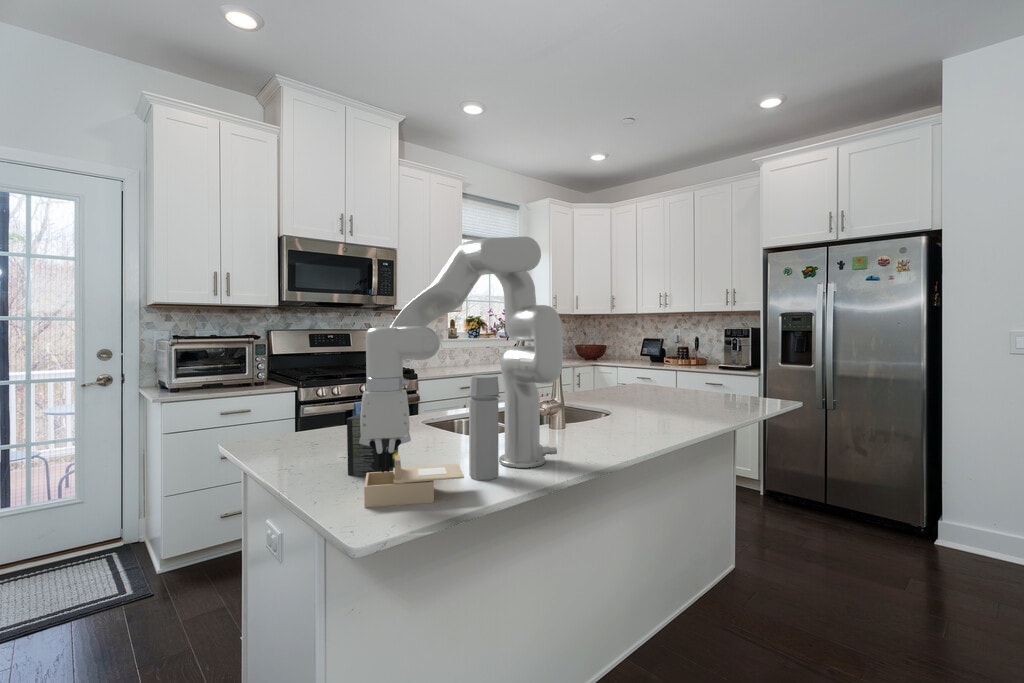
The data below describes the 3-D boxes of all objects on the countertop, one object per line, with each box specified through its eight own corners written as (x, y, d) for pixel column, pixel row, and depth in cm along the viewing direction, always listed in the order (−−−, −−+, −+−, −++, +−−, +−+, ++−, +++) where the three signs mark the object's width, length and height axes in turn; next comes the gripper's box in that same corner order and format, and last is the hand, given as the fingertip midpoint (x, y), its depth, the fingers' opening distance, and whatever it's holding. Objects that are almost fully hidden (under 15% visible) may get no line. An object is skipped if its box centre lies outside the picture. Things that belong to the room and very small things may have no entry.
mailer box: (430, 488, 117) (430, 468, 117) (433, 503, 108) (433, 481, 107) (366, 493, 114) (366, 472, 114) (364, 509, 104) (364, 486, 104)
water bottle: (489, 484, 120) (489, 378, 119) (462, 479, 124) (461, 376, 123) (509, 474, 128) (509, 375, 127) (482, 470, 132) (482, 373, 131)
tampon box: (381, 479, 125) (380, 419, 124) (346, 477, 126) (345, 418, 126) (399, 467, 135) (399, 411, 135) (367, 465, 137) (367, 410, 137)
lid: (458, 465, 118) (458, 450, 118) (464, 478, 109) (464, 462, 109) (393, 469, 115) (393, 454, 115) (393, 483, 105) (393, 466, 105)
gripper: (419, 382, 115) (420, 463, 115) (349, 384, 111) (350, 467, 112) (421, 386, 107) (421, 473, 108) (346, 388, 104) (347, 478, 105)
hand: (385, 470), depth 110 cm, fingers closed
